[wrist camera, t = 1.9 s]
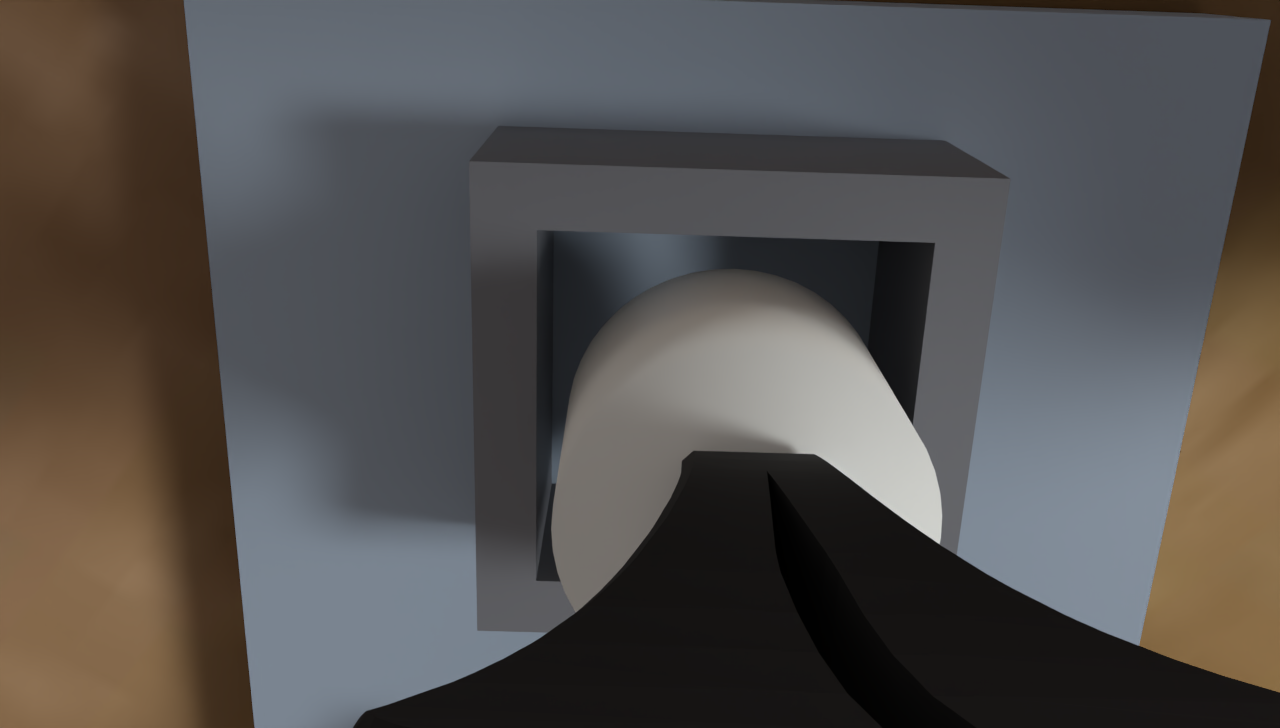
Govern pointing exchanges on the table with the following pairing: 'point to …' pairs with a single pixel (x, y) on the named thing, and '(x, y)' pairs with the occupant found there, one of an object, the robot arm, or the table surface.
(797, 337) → the cream plunger
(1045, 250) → the panel
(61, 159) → the table surface
